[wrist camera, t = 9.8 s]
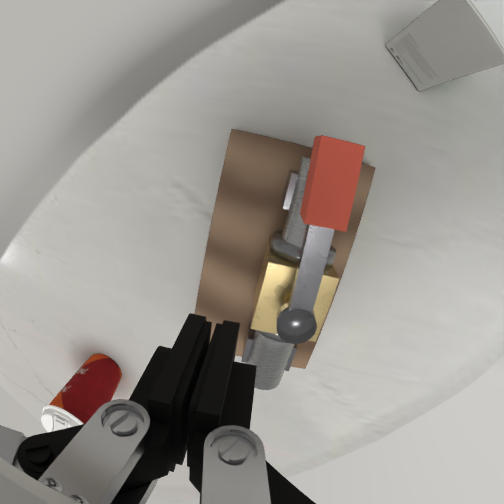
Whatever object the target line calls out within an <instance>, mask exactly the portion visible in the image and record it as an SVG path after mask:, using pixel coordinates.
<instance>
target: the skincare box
mask: <svg viewBox="0 0 504 504" xmlns="http://www.w3.org/2000/svg"><path fill="white" fill-rule="evenodd" d="M386 47H387V48H388V50H389V51H390V52H391V54H392V55H393V56H394V57H395V59H396V60H397V61H398V63H399V64H400V65H401V67H402V68H403V69H404V71H405V72H406V73H407V75H408V76H409V78H410V79H411V80H412V82H413V83H414V85H415V86H416V88H417V89H418V91H422V90H425V89H427V88H430V87H433V86H436V85H438V84H441V83H444V82H447V81H450V80H453V79H456V78H459V77H462V76H465V75H469V74H472V73H475V72H478V71H482V70H485V69H488V68H491V67H495V66H498V65H502V64H504V0H438V1H437V2H436V3H435V4H433V5H432V6H431V7H430V8H428V9H427V10H426V11H425V12H424V13H422V14H421V15H420V16H419V17H418V18H416V19H415V20H414V21H413V22H412V23H410V24H409V25H408V26H407V27H406V28H405V29H403V30H402V31H401V32H400V33H399V34H398V35H396V36H395V37H394V38H393V39H392V40H391V41H389V42H388V43H387V44H386Z"/></svg>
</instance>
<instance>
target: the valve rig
mask: <svg viewBox="0 0 504 504" xmlns="http://www.w3.org/2000/svg"><path fill="white" fill-rule="evenodd" d="M312 150H313V148H310V147H306V146H302V145H298V144H295V143H291V142H287V141H283V140H279V139H275V138H270V137H266V136H262V135H257V134H253V133H248V132H244V131H239V130H234V129H232V130H231V134H230V138H229V143H228V147H227V151H226V156H225V160H224V165H223V169H222V174H221V179H220V183H219V188H218V193H217V198H216V202H215V207H214V212H213V217H212V222H211V227H210V232H209V237H208V243H207V248H206V253H205V259H204V264H203V269H202V275H201V281H200V286H199V292H198V298H197V304H196V309H195V314H196V315H201V316H206V319H207V320H206V321H209V322H212V328H211V337H210V341H211V338H212V335H213V332H214V329H215V326H216V323H219V324H223V321H224V320H227V321H232V322H238V323H240V328H239V334H238V340H237V346H236V353H235V355H237V356H241V357H242V361H241V362H246V364H251V365H256V366H257V368H256V377H255V386H254V387H255V388H258V389H262V390H270V389H274V388H276V387H277V386H278V385H279V383H280V381H281V378H282V376H283V373H284V370H287V371H289V369H290V366H292V367H297V368H303V369H305V368H306V366H307V364H308V361H309V359H310V357H311V354H312V352H313V350H314V347H315V345H316V342H317V340H318V337H319V335H320V333H321V330H322V327H323V325H324V322H325V320H326V317H327V315H328V312H329V310H330V307H331V304H332V302H333V299H334V296H335V294H336V291H337V288H338V285H339V283H340V280H341V277H342V274H343V271H344V268H345V266H346V263H347V260H348V257H349V254H350V251H351V248H352V245H353V242H354V239H355V236H356V232H357V229H358V226H359V223H360V220H361V216H362V213H363V210H364V207H365V203H366V200H367V196H368V193H369V189H370V186H371V182H372V179H373V175H374V171H375V167H372V166H369V165H366V164H363V163H362V164H361V169H360V174H359V179H358V183H357V188H356V192H355V197H354V201H353V205H352V210H351V214H350V218H349V222H348V226H347V230H346V232H344V231H339V230H334V234H333V238H332V242H331V246H330V250H329V254H328V257H327V261H326V265H325V269H324V273H323V276H322V280H321V284H320V287H319V291H318V294H317V298H316V301H315V305H314V308H313V311H314V314H315V319H316V323H317V329H316V332H315V334H314V335H313V337H312V338H311V339H309V340H308V341H306V342H304V343H300V344H291V343H287V342H285V341H284V340H282V339H281V338H280V337H279V335H278V333H277V324H276V316H277V312H278V310H279V309H280V308H281V306H283V305H284V304H286V303H287V302H289V299H290V295H291V291H292V287H293V283H294V279H295V275H296V271H297V266H298V262H299V258H300V254H301V249H302V245H303V240H304V236H305V232H306V227H307V224H304V222H303V220H302V218H301V215H300V210H301V205H302V200H303V195H304V190H305V185H306V180H307V175H308V170H309V165H310V160H311V155H312Z"/></svg>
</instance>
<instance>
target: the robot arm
mask: <svg viewBox="0 0 504 504" xmlns="http://www.w3.org/2000/svg"><path fill="white" fill-rule="evenodd" d="M206 320H207V319H206V316H201V315H196V314H191V313H190V314H189V315H188V317H187V319H186V321H185V323H184V325H183V327H182V329H181V331H180V333H179V335H178V337H177V339H176V341H175V344H174V346H173V348H172V349H171V348H167V347H163V346H159V347H158V348H157V349H156V351H155V353H154V355H153V356H152V358H151V360H150V362H149V364H148V365H147V367H146V369H145V371H144V373H143V375H142V376H141V378H140V380H139V382H138V384H137V386H136V388H135V389H134V391H133V393H132V395H131V397H130V399H129V400H124V399H118V400H112V401H109V402H107V403H105V404H103V405H102V406H101V407H100V408H99V409H98V410H97V411H96V412H95V414H94V415H93V416H92V417H91V418H90V419H89V421H88V422H87V423H85V424H82V425H78V426H74V427H70V428H65V429H61V430H57V431H52V432H48V433H43V434H38V435H34V436H31V437H25V436H24V434H23V433H21V432H18V431H15V430H12V429H9V428H6V427H4V426H1V425H0V504H145V503H146V502H147V500H148V498H149V496H150V494H151V493H152V491H153V489H154V487H155V486H156V484H157V481H158V478H161V477H164V476H166V475H168V472H169V471H172V472H174V469H175V466H176V464H180V465H182V464H183V461H184V458H185V454H186V451H187V466H188V467H190V476H189V480H190V481H191V483H192V484H193V485H194V486H195V488H196V489H197V490H198V491H199V492H200V504H315V503H314V502H313V501H312V500H310V499H309V498H308V497H307V496H306V495H304V494H303V493H302V492H301V491H299V490H298V489H297V488H296V487H295V486H294V485H293V484H291V483H290V482H289V481H288V480H287V479H286V478H285V477H283V476H282V475H281V474H280V473H279V472H278V471H277V470H276V469H275V468H273V467H272V466H271V465H270V464H269V463H268V462H267V461H266V460H265V451H264V446H263V443H262V441H261V439H260V438H259V437H258V436H257V435H256V434H255V433H254V432H252V431H251V430H249V429H250V421H251V412H252V404H253V395H254V386H255V377H256V368H257V366H256V365H251V364H245V363H239V362H234V359H235V353H236V346H237V340H238V334H239V328H240V323H238V322H232V321H227V320H224V321H223V324H219V323H216V326H215V329H214V332H213V335H212V338H211V341H210V337H211V328H212V322H209V321H206Z"/></svg>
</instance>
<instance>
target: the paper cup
mask: <svg viewBox="0 0 504 504" xmlns="http://www.w3.org/2000/svg"><path fill="white" fill-rule="evenodd" d="M121 375H122V374H121V370H120V368H119V366H118V365H117V363H116V362H115V361H114V360H112V359H111V358H109V357H108V356H106V355H103V354H94V355H92V356H91V357H90V358H89V359H88V360H87V361H86V362H85V363H84V364H83V366H82V367H81V368H80V369H79V370H78V371H77V372H76V373H75V375H74V376H73V377H72V378H71V379H70V380H69V382H68V383H67V384H66V385H65V386H64V387H63V389H62V390H61V391H60V392H59V393H58V394H57V396H56V397H55V398H54V399H53V400H52V402H51V403H50V404H49V405H46V406H44V407H43V409H42V416H41V421H42V424H43V426H44V428H45V429H46V430H47V432H52V431H57V430H61V429H65V428H70V427H74V426H78V425H82V424H85V423H87V422H88V421H89V419H90V418H91V417H92V416H93V415H94V414H95V412H96V411H97V410H98V409H99V408H100V407H101V406H102V405H103V404H105V403H107V402H109V401H111V399H112V397H113V395H114V393H115V390H116V388H117V386H118V384H119V382H120V379H121Z"/></svg>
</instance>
